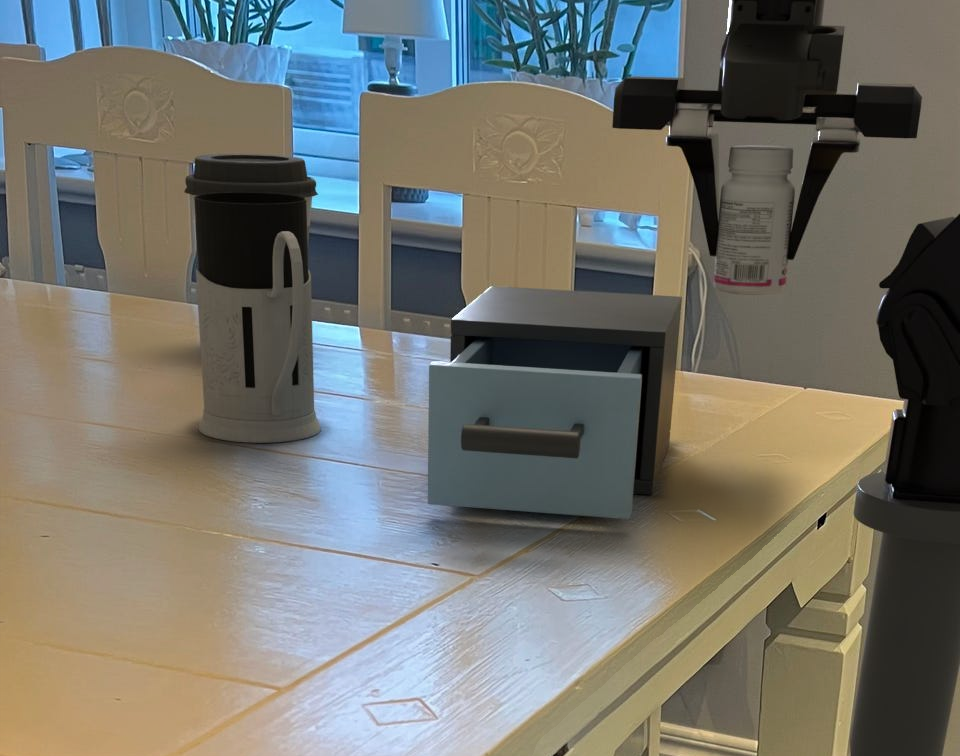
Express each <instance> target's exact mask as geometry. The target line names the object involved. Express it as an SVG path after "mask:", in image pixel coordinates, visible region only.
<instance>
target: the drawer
mask: <svg viewBox="0 0 960 756" xmlns="http://www.w3.org/2000/svg"><path fill="white" fill-rule="evenodd" d="M645 356H646V347H643V346H627V345H610V344H594V343H577V342H561V341H544V340H528V339H511V338H495V337H478V338H477V339H476V340H475V341H474V342H472V343H471V344H470V345H469V346H468V347H467V348H466V349H465V350H464V351H463V352H462V353H461V354H460V355H459V356H458V357H457V358H456V359H455V360H454V361H453V362H450V361H437V360H434V361H432V362H431V363H429V365H428V421H427V422H428V424H427V425H428V426H427V428H428V430H427V431H428V432H427V434H428V435H427V436H428V437H427V438H428V439H427V446H428V447H427V504H428V505H432V506H433V505H435V506H446V507H447V506H449V507H461V508H473V509H475V508H476V509H489V510H500V511H516V512H527V513H528V512H529V513H539V514H540V513H542V514H554V515H555V514H556V515H567V516H568V515H569V516H580V517H594V518H607V519H618V520H630V519H631V516H632V514H633V501H634V494H633V489H634V476H635V463H636V461H637V458H638V446H639V434H640V421H641V408H642V395H643V382H644V369H645Z"/></svg>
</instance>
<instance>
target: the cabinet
mask: <svg viewBox="0 0 960 756" xmlns="http://www.w3.org/2000/svg"><path fill="white" fill-rule="evenodd" d="M682 302H683V296H675V295H674V296H673V295H658V294H639V293H624V292H623V293H621V292H607V291H606V292H603V291H589V290H587V291H585V290H569V289H554V288H553V289H552V288H535V287H533V288H532V287H515V286H498V285H497V286H496V285H491V286H490V287H489V288H487V289H486V290H485V291H484V292H482V294H480V295H479V296H477V298H476V299H474V300H473V301H472V302H470V303H469V304H467V306H466V307H465V308H463V309H462V310H460V312H458V314H456V315H455V316H454V317H452V318H451V319H450V353H449V355H450V356H449V362H453V361H454V360H455V359H456V358H457V357H458V356H459V355H460V354H461V353H462V352H463V351H464V350H465V349H466V348H467V347H468V346H469V345H470V344H471V343H472V342H474V341H475V340H476V339H477V338H478V337H495V338H511V339H528V340H544V341H561V342H577V343H594V344H610V345H627V346H643V347H646V356H645V369H644V382H643V395H642V408H641V421H640V434H639V446H638V458H637V461H636V463H635V476H634V489H633V495H645V496H652V495H653V494H654V490H655V488H656V484H657V482H658V479H659V475H660V473H661V469H662V466H663V463H664V460H665V457H666V454H667V451H668V448H669V444H670V441H671V428H672V416H673V406H674V393H675V382H676V370H677V360H678V348H679V338H680V325H681V315H682V312H681V311H682V305H683V304H682Z"/></svg>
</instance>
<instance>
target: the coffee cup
mask: <svg viewBox="0 0 960 756" xmlns="http://www.w3.org/2000/svg"><path fill="white" fill-rule="evenodd" d="M185 186H186V187H185V189H184V193H185V194H188V195H190V198H191V205H192V210H193V216H194V222H195V224H196V219H195V202H194V197H195V196H197V195H200V194H207V193H221V192H262V193H279V194H289V195H296V196H301V197H304V198H306V202H307V241H308V242H309V239H310V227H311V216H312V203H313V197H315V196H318V195H319V193H318V192H317V190H316V187H317V181H316V180H315V178H314V177H311V176H308V172H307V166H306V161H305V160H304V159H303V158H302V157H297V156H290V155H281V154H279V155H278V154H263V153H262V154H260V153H216V154H203V155H197V156H195V157H194V166H193V174H190V175H189V174H188V175H187V176H186V177H185Z"/></svg>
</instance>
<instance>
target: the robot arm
mask: <svg viewBox="0 0 960 756" xmlns="http://www.w3.org/2000/svg"><path fill="white" fill-rule="evenodd" d="M825 1H826V0H729V4H728V5H729V6H728V16H727V17H728V18H727V29H726V30H727V31H726V36H725V37H724V41H723V43H722V46H721V51H720V63H719V75H718V85H717V89H696V88H695V89H692V88H685V87H686V86H685V77H670V76H669V77H668V76H635V75H634V76H633V75H632V76H628V77H624V78H623V79H622V80H621V82H619V83H618V85H617V86H616V87H615V90H614V95H613V107H612V108H613V109H612V125H611V127H612V129H621V130H644V131H645V130H646V131H648V130H649V131H662V130H663V129H664V128H665V127H666V126H667V127H669V128H668V129H669V132H668V135H666V136H665V145H666V146H667V147H678V148H680V149H681V151H682V153H683V156H684V158H685V160H686V164H687V166H688V169H689V172H690V175H691V177H692V180H693V183H694V187H695V190H696V193H697V195H696V196H697V198H698V204H699V209H700V214H701V218H702V219H701V220H702V223H703V228H704V235H705V239H706V244H707V249H708V253H709V257H716V249H717V237H718V221H719V209H720V168H719V167H720V161H719V159H720V158H719V157H720V156H719V150H720V149H719V133H712V129H713V128H714V127H715V126H716V122H718V123H719V122H720V123H721V122H722V123H726V122H727V123H747V124H748V123H752V124H776V125H777V124H778V125H779V124H780V125H781V124H783V125H808V126H809V125H813V126H815V131H817V132H818V136H814V137H813V138H812V141H811V145H810V149H809V153H808V158H807V162H806V167H805V170H804V174H803V180H802V183H801V187H800V192H799V196H798V202H797V204H796V209H795V214H794V217H793V220H792V227H791V234H790V242H789V251H788V261H794V260H795V257H796V255H797V252H798V250H799V247H800V245H801V243H802V239H803V237H804V234H805V232H806V230H807V227H808V225H809V222H810V220H811V217H812V214H813V212H814V209H815V207H816V204H817V203H818V202H817V201H818V200H819V197H820V195H821V193H822V191H823V189H824V187H825V185H826V183H827V181H828V179H829V178H830V176H831V174H832V172H833V170H834V168H835V167H836V165H837V163H838V161H839V160H840V158H841V156H842V155H843V154H844V153H850V154H851V153H859V152H860V145H861V142H860V138H859V134H860V133H861V135H862V136H863V137H864V138H880V139H882V138H884V139H885V138H886V139H917V138H918V131H919V123H920V117H921V111H922V101H923V96H922V95H921V94H920V92H919V90H917V88H916V87H915V85H914V84H913V83H911V84H910V83H876V82H875V83H874V82H857V86H856V87H857V88H856V93H838V87H839V80H840V79H839V78H840V70H841V63H842V53H843V45H844V38H845V37H844V36H845V29H846V26H844V25H823V18H824V11H825V10H824V9H825ZM878 287H879V289H887V291H886V293H885V294H883V295H884V296H883V297H882V299H881V302H880V304H879V307H878V309H877V313H876V325H877V329H878V335H879V340H880V343H881V345H882V347H883V349H884V352H885V353H886V354H887V356H888V357H890V359H891V360H892V363H893V364H892V365H893V370H894V377H895V380H896V381H895V382H896V386H897V391H898V392H897V394H898V397H899V398H900V399H901V400H903V405H902V409H900V408H896V409H895V410H894V411H893V412H892V415H891V422H890V427H889V434H888V439H887V447H886V452H885V453H886V454H885V460H884V467H883V472H884V478H885V481H886V482H887V484H890V488H891V494H892V497H893V498H895V499H902V500H916V501H930V502H944V503H958V504H960V213H958V215H956V216H955V217H954V216H948V217H944V218H940V219H936V220H935V219H934V220H930V221H924V222H922V223H918V224H917V225H916V226H915V228H914V229H913V231H912V233H911V235H910V237H909V238H908V241H907V243H906V246H905V248H904V250H903V252H902V256H901V257H900V260H899V261H898V262H897V265H896V266H895V267H894V268H893V270H892V271H891V272H890V274H889V275H887V276H886V277H885V278H884V279H882V280H881V281H880V282H879V283H878Z"/></svg>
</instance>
